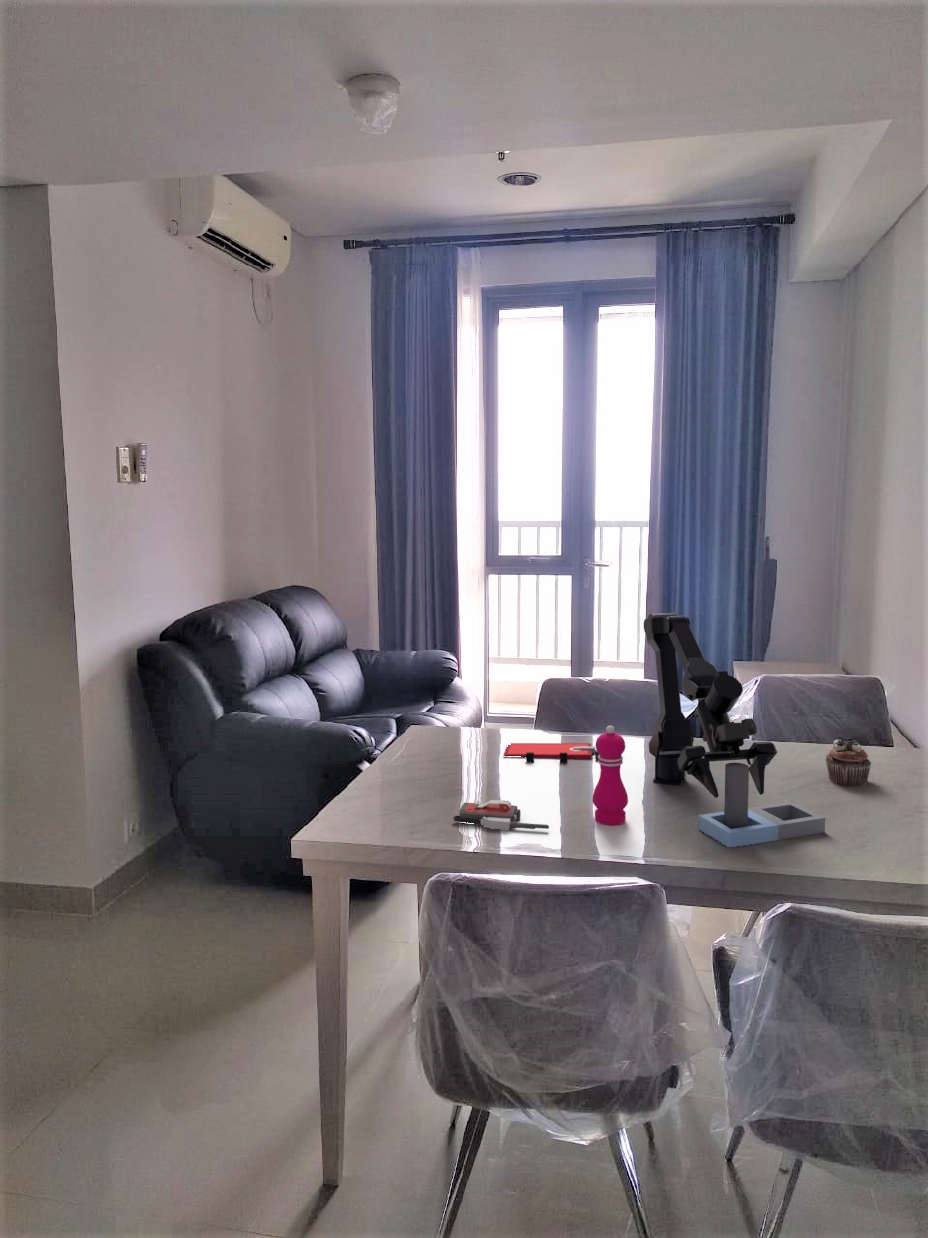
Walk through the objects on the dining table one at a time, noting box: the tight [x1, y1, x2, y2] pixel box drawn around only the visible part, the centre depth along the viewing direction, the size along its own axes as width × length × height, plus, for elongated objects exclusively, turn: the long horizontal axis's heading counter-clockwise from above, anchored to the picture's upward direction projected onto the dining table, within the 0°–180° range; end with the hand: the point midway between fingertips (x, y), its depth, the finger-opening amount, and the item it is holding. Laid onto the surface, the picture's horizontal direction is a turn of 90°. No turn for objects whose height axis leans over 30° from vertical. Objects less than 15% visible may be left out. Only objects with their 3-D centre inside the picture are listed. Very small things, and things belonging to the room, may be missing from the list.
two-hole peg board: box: [698, 800, 826, 849], centre depth 172 cm, size 22×10×3 cm, turn 108°
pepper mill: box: [592, 725, 629, 826], centre depth 178 cm, size 7×7×20 cm
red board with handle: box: [503, 742, 600, 764], centre depth 226 cm, size 30×3×15 cm
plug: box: [723, 762, 750, 829], centre depth 169 cm, size 4×4×14 cm
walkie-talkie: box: [453, 799, 550, 832], centre depth 179 cm, size 9×4×20 cm
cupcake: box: [825, 737, 872, 788], centre depth 200 cm, size 10×10×10 cm
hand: (739, 795), depth 168 cm, fingers open, 9 cm apart
